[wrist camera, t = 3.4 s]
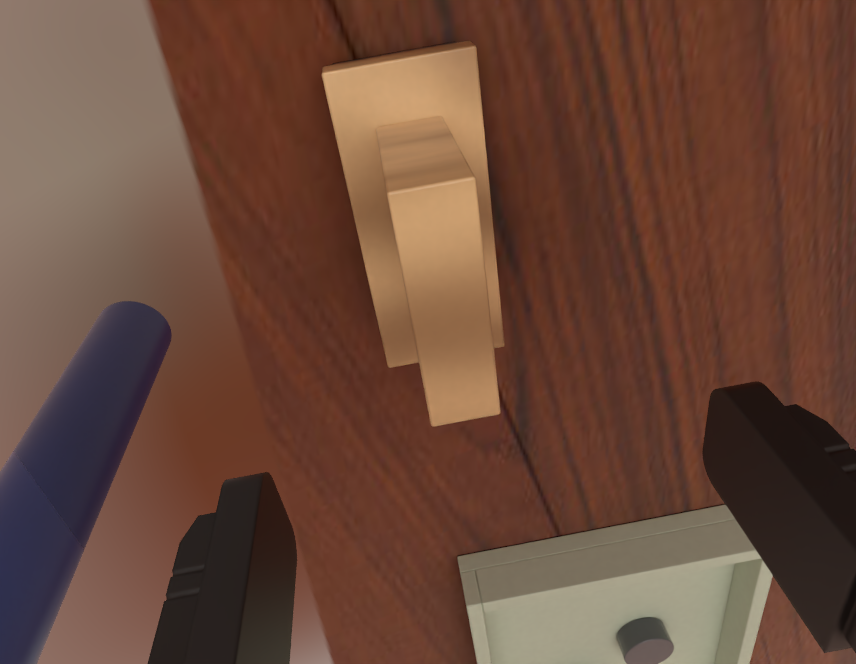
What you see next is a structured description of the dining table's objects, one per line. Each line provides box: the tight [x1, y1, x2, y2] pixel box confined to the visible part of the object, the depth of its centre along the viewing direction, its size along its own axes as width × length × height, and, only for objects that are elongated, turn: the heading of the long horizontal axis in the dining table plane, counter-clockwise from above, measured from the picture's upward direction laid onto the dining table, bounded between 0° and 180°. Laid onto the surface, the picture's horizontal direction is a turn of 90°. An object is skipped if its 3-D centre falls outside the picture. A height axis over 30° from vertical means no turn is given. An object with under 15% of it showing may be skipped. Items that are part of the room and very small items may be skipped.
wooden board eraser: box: [322, 41, 504, 426], centre depth 19 cm, size 10×4×8 cm, turn 8°
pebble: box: [616, 617, 674, 664], centre depth 37 cm, size 3×3×1 cm
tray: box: [457, 505, 773, 664], centre depth 38 cm, size 16×22×3 cm
